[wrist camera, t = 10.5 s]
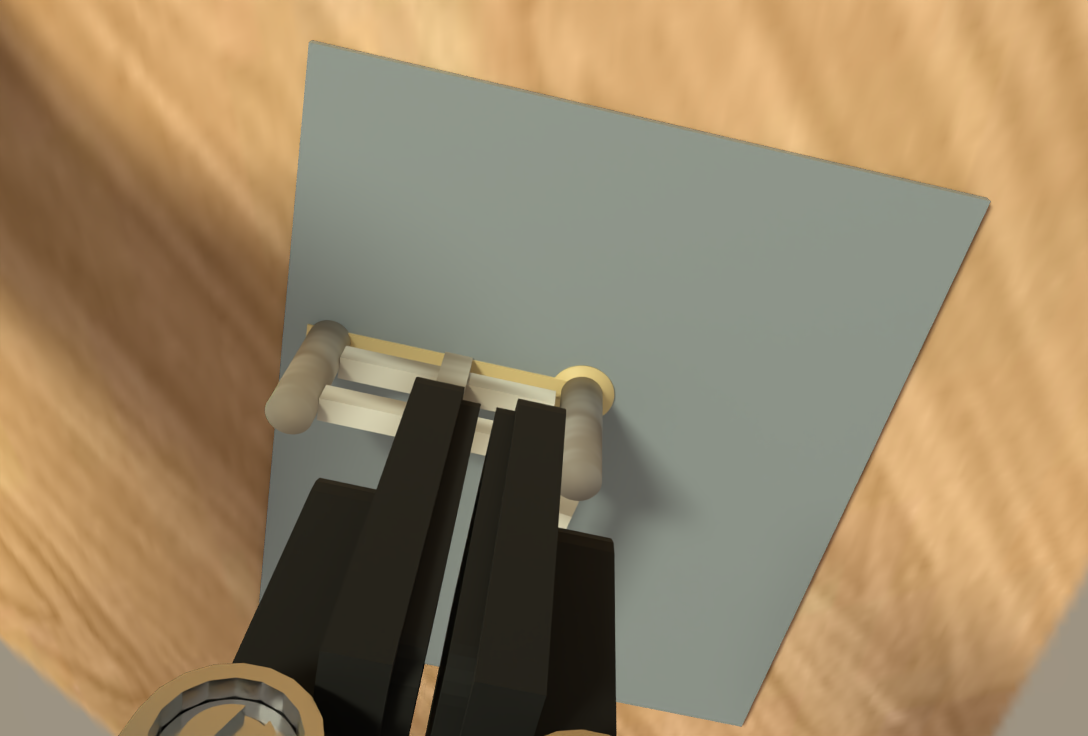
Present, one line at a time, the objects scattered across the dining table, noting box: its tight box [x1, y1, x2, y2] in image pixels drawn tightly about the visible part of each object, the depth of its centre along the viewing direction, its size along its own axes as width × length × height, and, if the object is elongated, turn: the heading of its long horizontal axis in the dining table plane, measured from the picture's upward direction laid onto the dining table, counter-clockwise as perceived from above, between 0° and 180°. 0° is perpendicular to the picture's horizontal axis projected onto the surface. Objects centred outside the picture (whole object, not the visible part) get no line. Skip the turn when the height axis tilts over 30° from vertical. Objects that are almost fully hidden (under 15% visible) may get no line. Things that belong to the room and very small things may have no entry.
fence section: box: [265, 320, 603, 501], centre depth 38 cm, size 13×2×6 cm, turn 78°
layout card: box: [259, 40, 991, 727], centre depth 43 cm, size 26×30×1 cm
